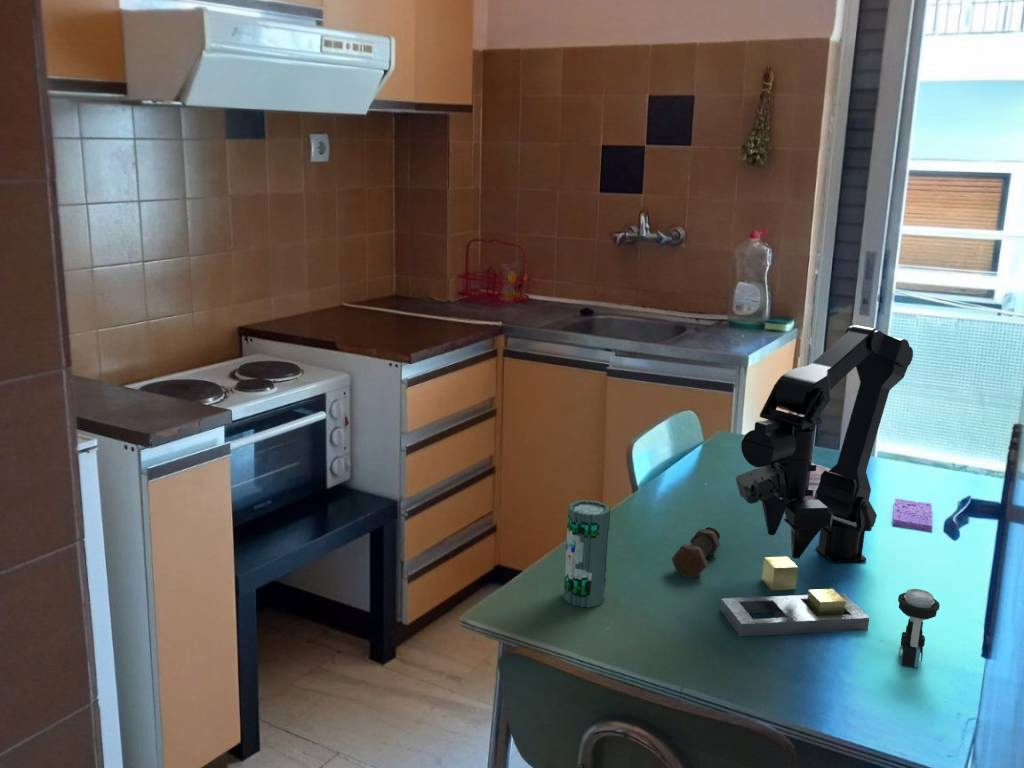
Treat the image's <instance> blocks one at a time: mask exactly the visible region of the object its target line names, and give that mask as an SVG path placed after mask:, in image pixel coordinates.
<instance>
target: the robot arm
mask: <svg viewBox="0 0 1024 768" xmlns="http://www.w3.org/2000/svg"><path fill="white" fill-rule="evenodd" d="M913 357H914V350H913V348H912V347H911V346H910V343H909V341H908V339H906V338H899V337H894V336H890V335H887V334H885V333H884V332H882V331H881V330H878V329H877V328H874V327H869V326H863V325H858V324H857V325H856V324H854V325H850V326H848V328H847V329H846V330H845V332H844V335H843V336H841V338H840V337H839V338H838V340H836V342H834V344H832V345H831V346H830V347H829V348H827V350H826V351H824V352H823V353H821V354H820V355H819V357H817V358H816V359H815V360H813V362H811V363H809V364H808V365H805V366H799V367H795V368H792V369H791V370H789V371H788V372H785V373H784V374H782V375H781V376H780V377H779V378H778V379H777V381H776V382H775V384H774V385H773V387H772V390H771V392H769V396H768V398H767V400H766V401H765V403H764V405H763V407H762V409H761V411H760V412H759V418H762V419H764V420H759V421H755V423H754V429H752V430H749V431H748V432H746V434H745V435H744V437H742V438H743V439H742V440H741V443H740V445H741V447H740V448H741V453H742V455H743V457H744V459H745V461H746V462H747V463H748V464H749V465H751V466H752V467H755V468H754V469H751V470H749V471H746V472H743V473H741V474H739V475H737V476H735V480H736V481H735V482H736V486H737V490H738V492H739V496H740V497H741V498H743V499H744V501H746V503H748V504H751V505H753V504H756V503H758V502H759V501H761V505H762V509H763V510H762V511H763V515H764V520H765V525H766V530H767V534H768V535H769V536H775V535H776V534H777V531H778V529H779V527H780V524H781V522H782V519H783V520H784V522H785V523H786V524H787V525H788V526H789V528H790V535H791V536H790V538H791V539H790V541H791V542H790V543H791V547H790V548H791V549H790V550H791V557H792V559H793V560H795V559H796V560H797V559H800V558H801V557H802V556H803V554H804V552H805V551H806V549H807V548H808V547H809V545H810V544H811V543H812V541H813V540H814V539H815V537H816V536H817V535H818V533H819V537H818V538H819V540H818V544H817V545H816V546H815V549H817V551H818V552H820V553H821V554H822V555H823V556H824V557H825V558H826V559H827V560H829V561H830V562H831V563H834V564H836V563H856V562H857V563H859V562H866V561H867V557H865V556H864V555H863V549H864V541H865V532H871V531H872V530H873V529H872V528H874V526H875V524H876V520H877V516H878V515H877V513H876V511H875V509H874V507H873V505H872V504H871V501H870V496H871V491H872V488H871V485H870V480H869V478H868V474H867V470H868V466H869V462H870V458H871V455H872V452H873V448H874V445H875V442H876V438H877V435H878V431H879V428H880V425H881V421H882V419H883V418H882V417H883V414H884V410H885V408H886V404H887V401H888V396H889V394H890V391H891V390H893V388H894V387H895V386H896V385H897V384H899V382H901V381H902V380H903V379H904V377H905V375H906V373H907V370H908V367H909V366H911V364H912V361H913ZM854 368H856V372H857V375H858V379H859V386H858V390H857V393H856V396H855V400H854V403H853V406H852V411H851V414H850V417H849V421H848V423H847V427H846V431H845V435H844V437H843V438H844V439H843V442H842V445H841V449H840V453H839V456H838V459H837V462H836V464H835V465H833V467H831V468H829V469H830V470H829V471H824V472H823V473H822V474H821V478H820V483H819V486H818V488H817V490H816V493H815V500H805V499H804V498H805V496H813V491H814V490H813V489H812V488H811V487H809V480H810V471H816V465H817V464H816V463H815V462H813V451H814V444H815V435H816V428H817V426H819V425H822V424H823V419H822V418H821V417H820V416H819V415H820V414H821V413H822V412H823V410H824V409H825V408H826V407H827V406H828V404H829V403H830V402H831V399H832V398H831V397H832V396H831V393H832V390H833V388H834V387H835V386H836V385H837V384H838V383H839V382H841V380H843V378H845V377H846V376H847V375H848V374H849V373H850V372H851V371H853V370H854ZM779 409H780V410H779ZM783 410H784V411H783ZM787 411H788V412H787ZM793 413H794V414H793ZM765 419H766V420H765ZM784 514H785V518H783V517H784Z"/></svg>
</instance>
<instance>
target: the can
mask: <svg viewBox="0 0 1024 768" xmlns="http://www.w3.org/2000/svg"><path fill="white" fill-rule="evenodd" d="M567 511H568V512H567V529H566V544H565V545H566V546H565V562H564V563H565V565H564V584H563V599H564V600H565V601H566V602H567V603H568V604H569V605H570V604H572V605H573V606H575V607H580V608H585V607H586V608H587V609H588V608H594V607H599V606H600V605H602V604H603V603H604V602H605V600H606V598H605V597H606V587H607V586H606V583H607V567H608V552H609V551H608V550H609V539H610V538H609V537H610V524H611V523H610V521H611V507H610V506H609V505H607V504H606V503H605V502H602V503H601V502H600V501H597V500H592V499H591V500H587V499H582V500H575V501H574V502H571V503H569V505H568V508H567Z"/></svg>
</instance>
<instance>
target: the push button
mask: <svg viewBox="0 0 1024 768" xmlns="http://www.w3.org/2000/svg"><path fill="white" fill-rule="evenodd" d="M934 597H935V596H934V595H933V594H932V593H931V592H929V591H927V590H923V589H919V588H909V589H907V590H906V591H905V592H902V593H901V594H899V595H898V597H897V601H898V609H899V610H900V611H901V612H902V613H903V614H904V615H905V616H907V617H908V621H907V625H906V627H905V631H903V632H901V638H900V645H899V650H898V658H899V659H900V658H901V666H904V667H910V668H916V669H918V668H919V662H923V658H924V651H923V650H924V648H923V647H925V642H926V636H925V635H923V634H924V633H923V628H924V627H923V626H924V621H926V620H929V619H930V620H931V619H932V618H935V617H937V612H938V611H939V610H940V606H941V605H940V602H939V601H938V600H936V599H935V598H934ZM901 651H902V652H901ZM901 653H902V656H901Z"/></svg>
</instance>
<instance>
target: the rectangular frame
mask: <svg viewBox="0 0 1024 768" xmlns="http://www.w3.org/2000/svg"><path fill="white" fill-rule="evenodd" d="M838 594H839V595H840V596H841V597H842V598H843V599H844V600H845V601H846V602H845V610H844V615H831V616H816V615H815V614H814V613H813V612H812V611H811V610H810V609H809V607H808V606H807V599H808V594H800V595H799V594H798V595H796V594H795V595H779V596H778V595H775V596H753V597H752V596H750V597H728V598H727V597H726V598H721V601H720V610H719V611H720V612H721V613H722V615H723V616H724V617H725V619H727V621H728V622H729V625H731V626H732V627H733V629H734V630H735V631H736V633H737V635H738V636H739V637H755V636H757V637H758V636H759V637H760V636H775V635H778V636H779V635H796V634H798V635H799V634H817V633H832V632H833V633H839V632H853V631H856V632H857V631H868V630H869V625H870V617H869V616H868V615H867V614H866V613H865V612H864V611H863V610H862V609H861V608H860V607H858V605H857V604H855V602H853V600H851V599H850V598H849V597H848V596H847V595H846V594H845V593H838ZM758 613H771V614H773V616H774V617H770V618H769V617H768V618H753V617H752V616H751V615H750V614H758Z"/></svg>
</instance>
